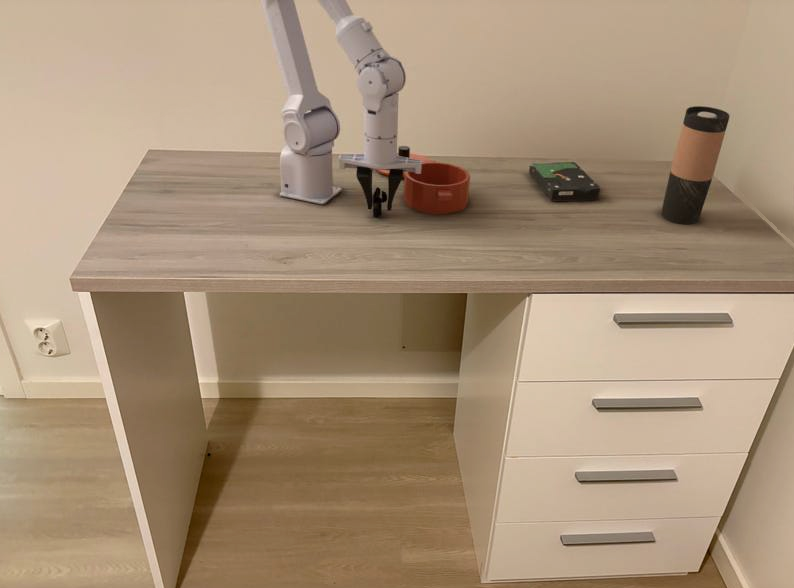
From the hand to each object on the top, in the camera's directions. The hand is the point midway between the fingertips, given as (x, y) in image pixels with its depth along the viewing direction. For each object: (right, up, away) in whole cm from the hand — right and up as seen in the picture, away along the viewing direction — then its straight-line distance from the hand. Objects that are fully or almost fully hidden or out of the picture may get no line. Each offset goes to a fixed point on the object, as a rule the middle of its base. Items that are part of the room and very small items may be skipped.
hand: (379, 207), depth 132 cm
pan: (+10, +3, +8) cm, 13 cm away
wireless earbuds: (0, -1, +1) cm, 2 cm away
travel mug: (+58, 0, +8) cm, 58 cm away
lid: (+4, +13, +20) cm, 25 cm away
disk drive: (+36, +8, +17) cm, 41 cm away
